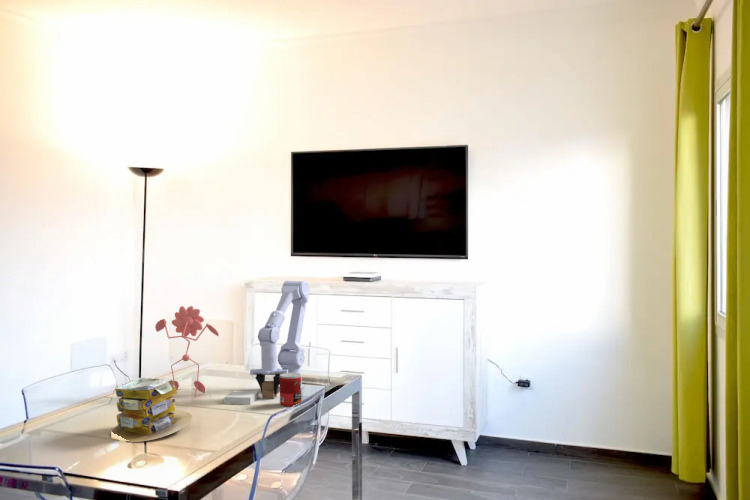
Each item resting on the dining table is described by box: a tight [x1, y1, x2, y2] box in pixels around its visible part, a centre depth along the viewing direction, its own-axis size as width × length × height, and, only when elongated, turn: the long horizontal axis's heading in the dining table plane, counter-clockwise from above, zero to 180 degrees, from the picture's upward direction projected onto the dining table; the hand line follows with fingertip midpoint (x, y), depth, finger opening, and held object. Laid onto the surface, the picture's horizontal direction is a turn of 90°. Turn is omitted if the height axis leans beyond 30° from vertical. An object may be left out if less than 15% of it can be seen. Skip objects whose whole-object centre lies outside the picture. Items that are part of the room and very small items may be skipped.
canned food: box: [279, 373, 302, 408], centre depth 236 cm, size 8×8×11 cm
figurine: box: [154, 305, 220, 398], centre depth 256 cm, size 15×26×35 cm, turn 87°
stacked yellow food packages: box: [111, 377, 193, 443], centre depth 205 cm, size 25×25×17 cm
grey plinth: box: [223, 390, 260, 405], centre depth 243 cm, size 10×10×2 cm
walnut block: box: [261, 380, 278, 400], centre depth 247 cm, size 4×4×6 cm
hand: (269, 393), depth 248 cm, fingers closed on walnut block, 4 cm apart
